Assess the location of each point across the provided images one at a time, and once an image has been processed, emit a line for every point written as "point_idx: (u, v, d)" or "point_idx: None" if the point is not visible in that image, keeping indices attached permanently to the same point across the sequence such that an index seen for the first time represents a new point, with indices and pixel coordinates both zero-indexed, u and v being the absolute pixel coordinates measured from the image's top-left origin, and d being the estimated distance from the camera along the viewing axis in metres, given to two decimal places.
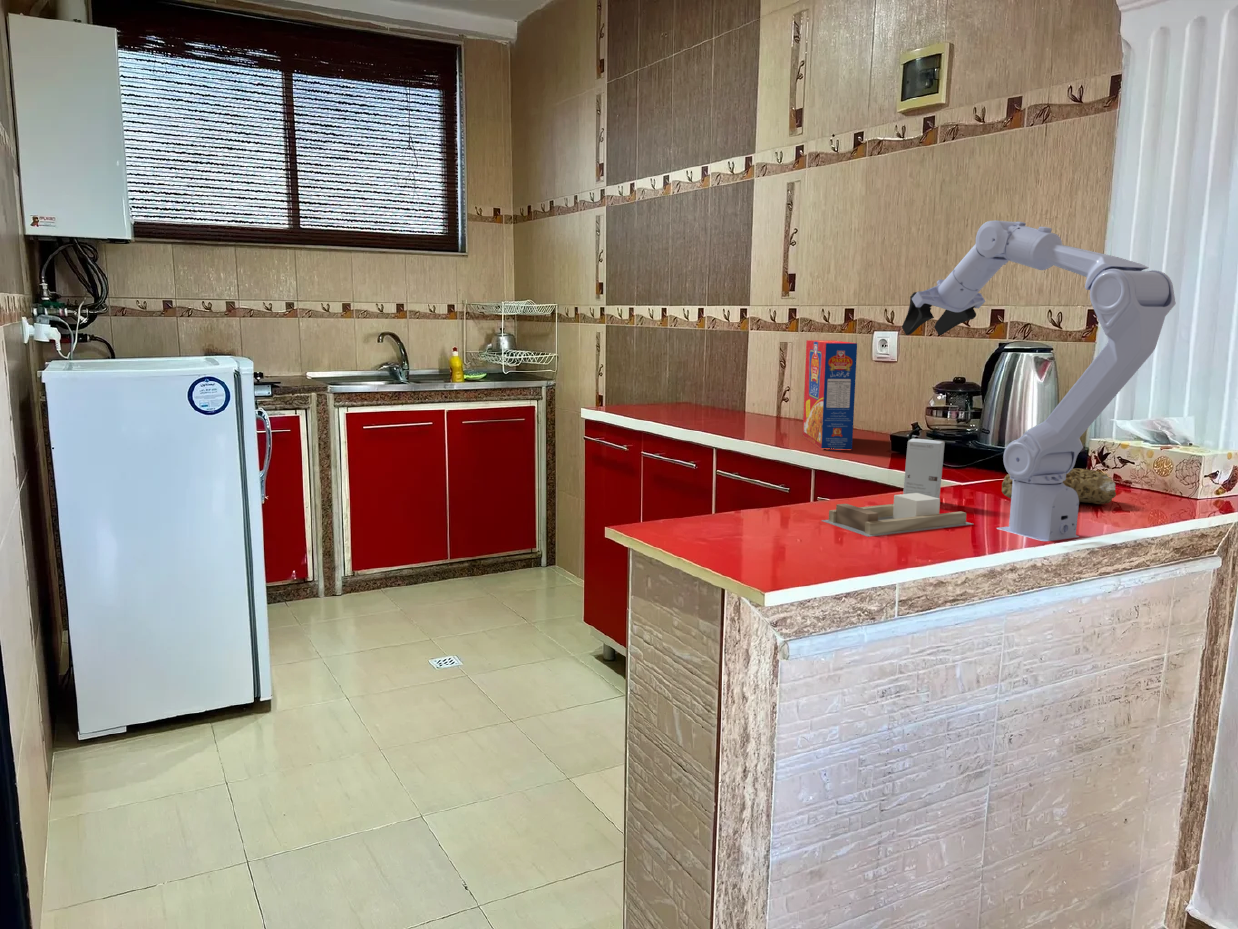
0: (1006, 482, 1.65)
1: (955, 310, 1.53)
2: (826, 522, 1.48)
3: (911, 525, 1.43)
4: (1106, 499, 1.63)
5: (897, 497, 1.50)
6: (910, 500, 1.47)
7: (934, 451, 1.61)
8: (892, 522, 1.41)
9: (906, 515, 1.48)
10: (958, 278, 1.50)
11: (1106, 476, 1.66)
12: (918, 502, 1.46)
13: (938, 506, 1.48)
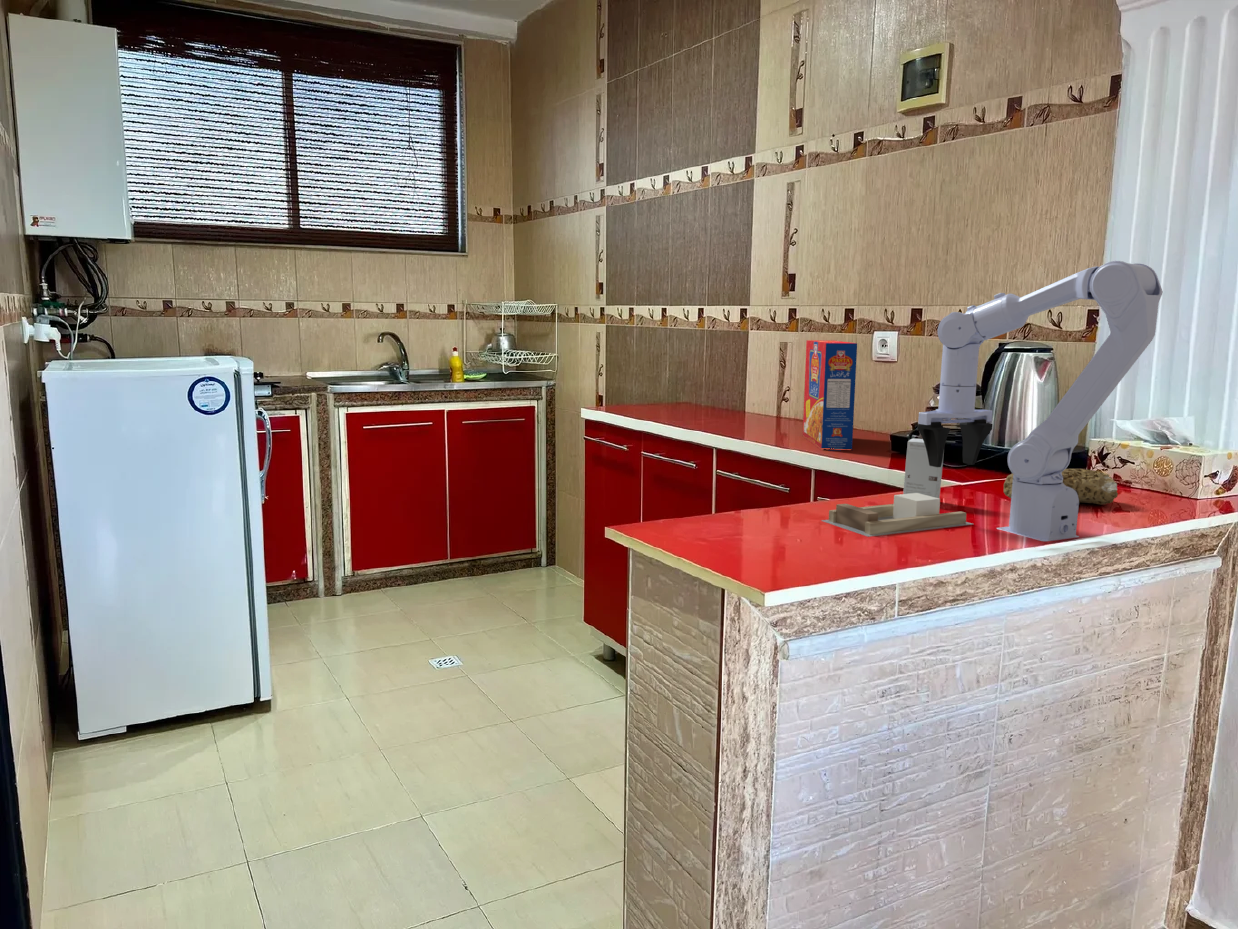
0: (1008, 483, 1.65)
1: (966, 415, 1.47)
2: (826, 522, 1.48)
3: (911, 525, 1.43)
4: (1108, 499, 1.63)
5: (897, 497, 1.50)
6: (910, 500, 1.47)
7: None
8: (892, 522, 1.41)
9: (906, 515, 1.48)
10: (953, 383, 1.47)
11: (1107, 476, 1.66)
12: (918, 502, 1.46)
13: (938, 506, 1.48)
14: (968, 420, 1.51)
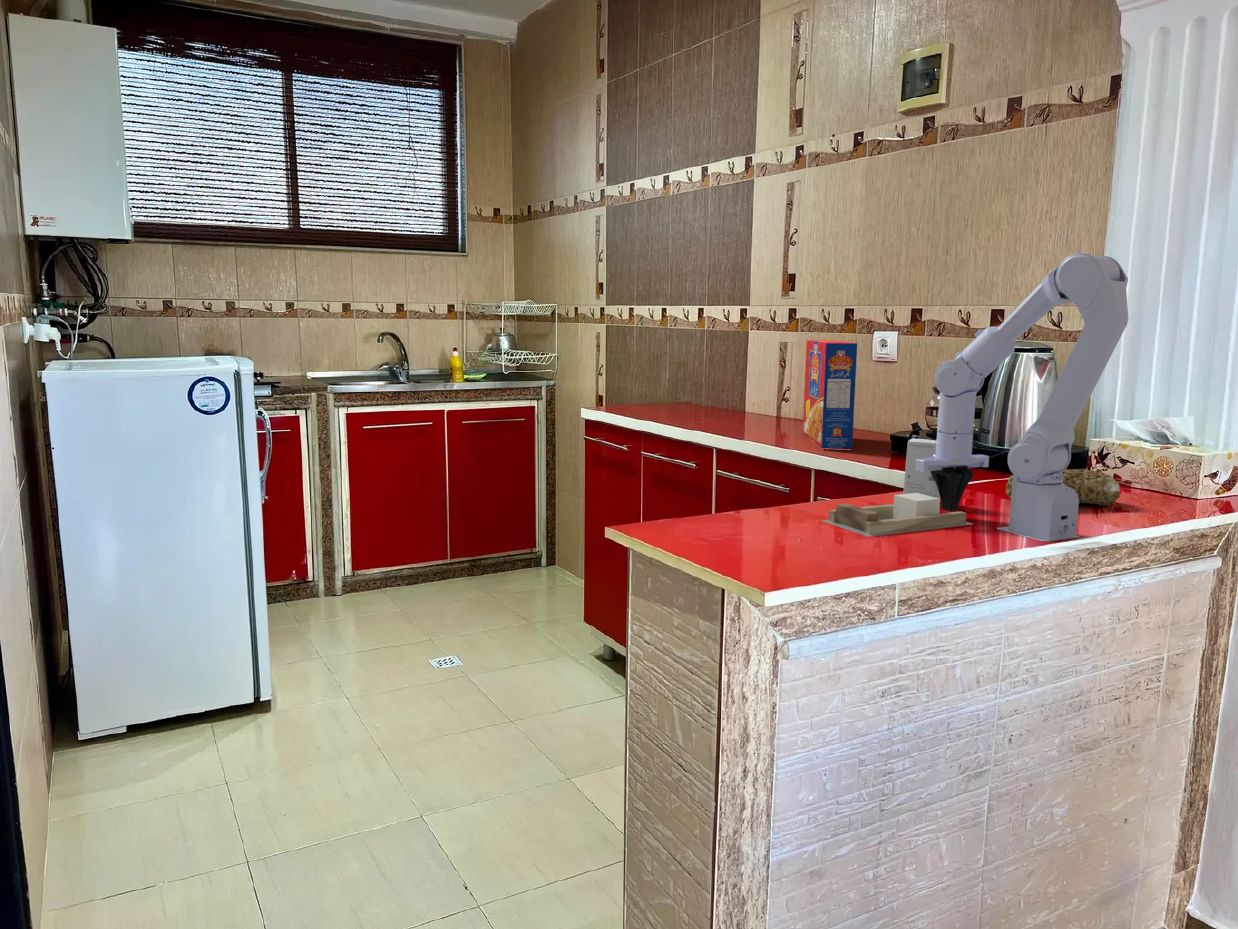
0: (1010, 484, 1.64)
1: (963, 462, 1.48)
2: (826, 522, 1.48)
3: (911, 525, 1.43)
4: (1110, 500, 1.62)
5: (897, 497, 1.50)
6: (910, 500, 1.47)
7: (934, 451, 1.61)
8: (892, 522, 1.41)
9: (906, 515, 1.48)
10: (950, 430, 1.48)
11: (1109, 477, 1.65)
12: (918, 502, 1.46)
13: (938, 506, 1.48)
14: (965, 466, 1.52)
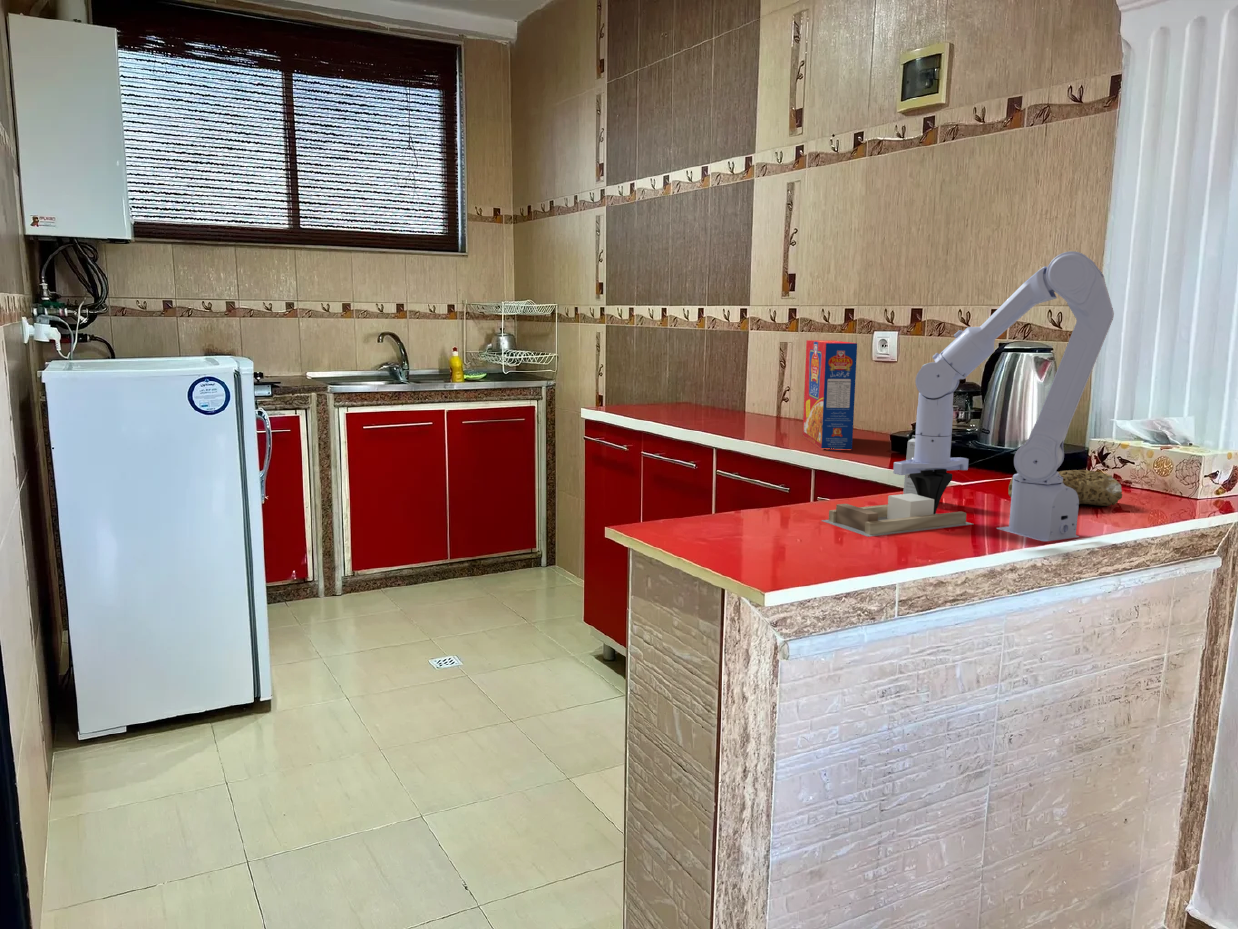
0: None
1: (941, 465, 1.46)
2: (826, 522, 1.48)
3: (911, 525, 1.43)
4: (1113, 501, 1.62)
5: (891, 498, 1.49)
6: (904, 501, 1.46)
7: None
8: (892, 522, 1.41)
9: (900, 516, 1.48)
10: (932, 433, 1.46)
11: (1111, 477, 1.65)
12: (912, 503, 1.45)
13: (932, 507, 1.47)
14: (944, 469, 1.50)
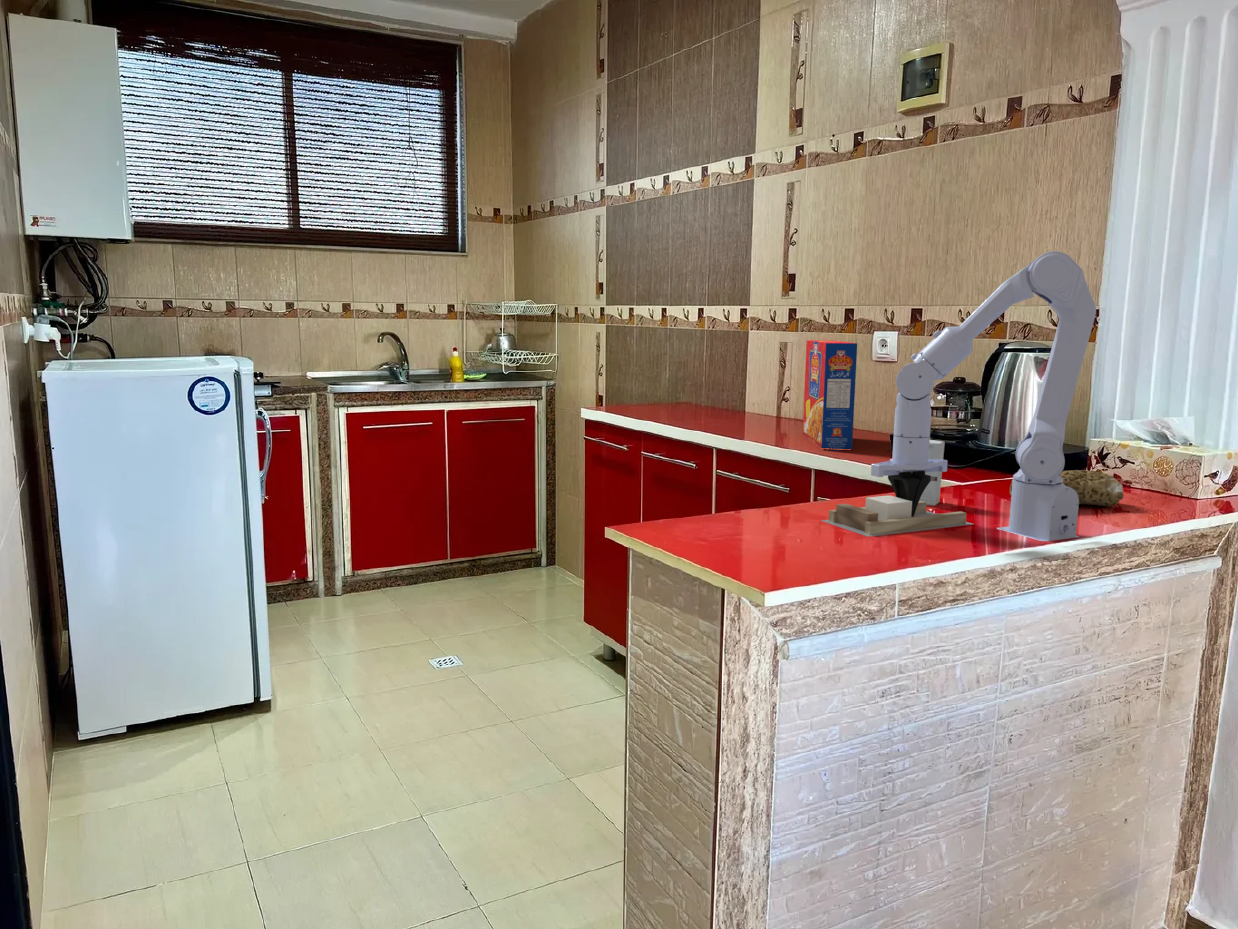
0: None
1: (919, 467, 1.44)
2: (826, 522, 1.48)
3: (911, 525, 1.43)
4: (1114, 501, 1.61)
5: (869, 500, 1.47)
6: (881, 503, 1.44)
7: (934, 451, 1.61)
8: (892, 522, 1.41)
9: None
10: (914, 435, 1.44)
11: (1112, 478, 1.65)
12: (889, 505, 1.43)
13: (910, 509, 1.45)
14: (923, 470, 1.48)
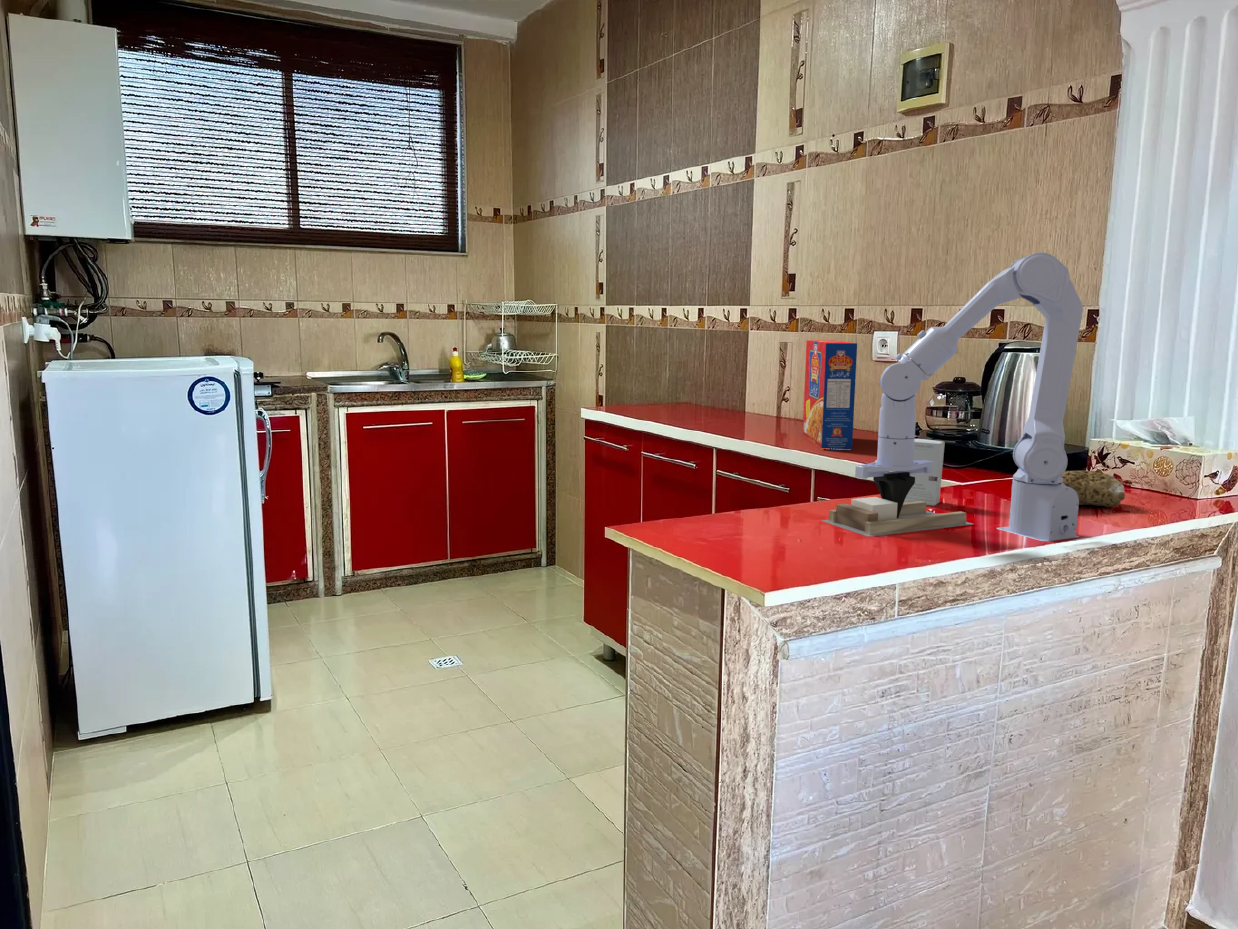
0: None
1: (904, 468, 1.43)
2: (826, 522, 1.48)
3: (911, 525, 1.43)
4: (1115, 502, 1.61)
5: (854, 501, 1.46)
6: (866, 504, 1.43)
7: (934, 451, 1.61)
8: (892, 522, 1.41)
9: None
10: (900, 436, 1.42)
11: (1113, 478, 1.64)
12: (874, 506, 1.42)
13: (895, 510, 1.44)
14: (908, 472, 1.47)
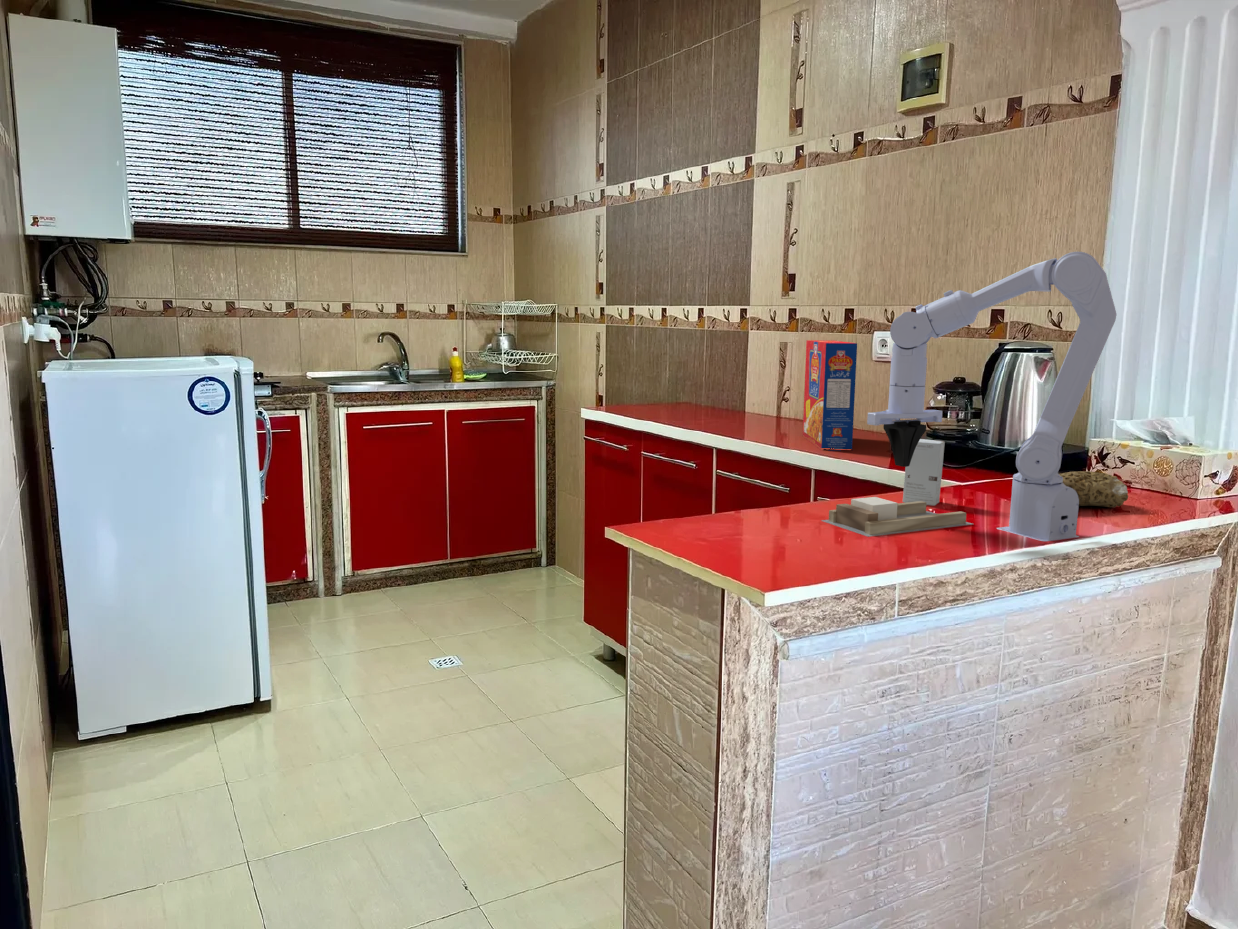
0: None
1: (915, 415, 1.46)
2: (826, 522, 1.48)
3: (911, 525, 1.43)
4: (1119, 502, 1.60)
5: (854, 501, 1.46)
6: (866, 504, 1.43)
7: (934, 451, 1.61)
8: (892, 522, 1.41)
9: None
10: (907, 383, 1.45)
11: (1116, 479, 1.64)
12: (874, 506, 1.42)
13: (895, 510, 1.44)
14: (918, 420, 1.50)
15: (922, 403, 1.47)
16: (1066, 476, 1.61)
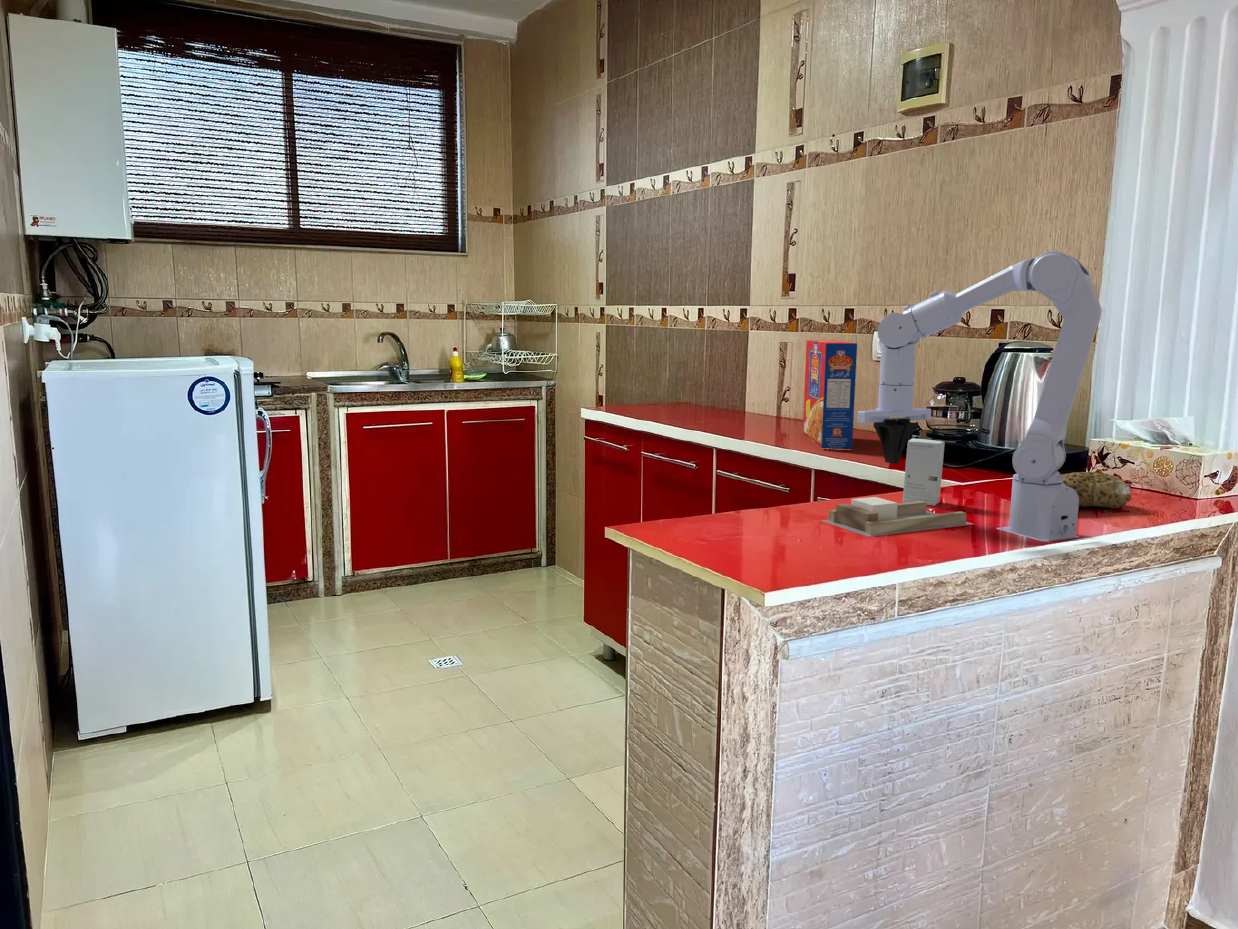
0: None
1: (903, 414, 1.50)
2: (826, 522, 1.48)
3: (911, 525, 1.43)
4: (1122, 503, 1.60)
5: (854, 501, 1.46)
6: (866, 504, 1.43)
7: (934, 451, 1.61)
8: (892, 522, 1.41)
9: None
10: (894, 382, 1.49)
11: (1119, 479, 1.63)
12: (874, 506, 1.42)
13: (895, 510, 1.44)
14: (907, 418, 1.53)
15: (911, 401, 1.50)
16: (1070, 477, 1.60)
